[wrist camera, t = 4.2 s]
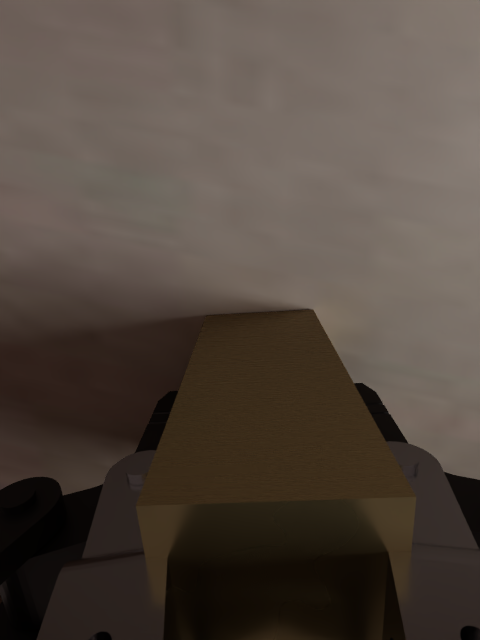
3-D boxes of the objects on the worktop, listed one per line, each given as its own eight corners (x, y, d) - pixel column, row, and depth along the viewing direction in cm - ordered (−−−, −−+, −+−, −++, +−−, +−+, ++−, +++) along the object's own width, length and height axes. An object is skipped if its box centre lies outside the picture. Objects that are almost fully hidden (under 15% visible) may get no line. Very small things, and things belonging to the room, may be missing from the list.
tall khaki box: (206, 315, 11) (135, 506, 4) (313, 309, 11) (416, 496, 4) (220, 462, 12) (185, 775, 6) (314, 459, 12) (390, 775, 6)
